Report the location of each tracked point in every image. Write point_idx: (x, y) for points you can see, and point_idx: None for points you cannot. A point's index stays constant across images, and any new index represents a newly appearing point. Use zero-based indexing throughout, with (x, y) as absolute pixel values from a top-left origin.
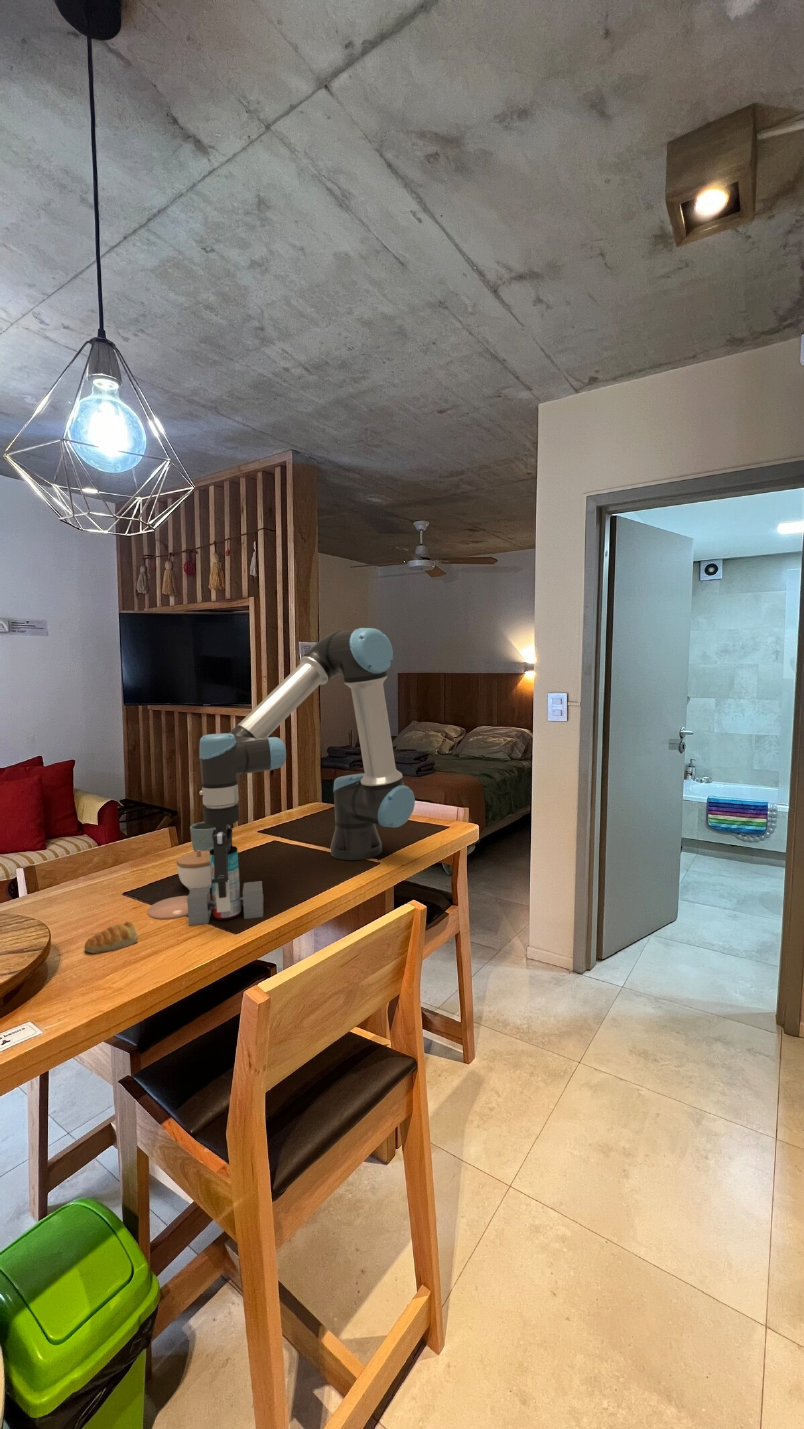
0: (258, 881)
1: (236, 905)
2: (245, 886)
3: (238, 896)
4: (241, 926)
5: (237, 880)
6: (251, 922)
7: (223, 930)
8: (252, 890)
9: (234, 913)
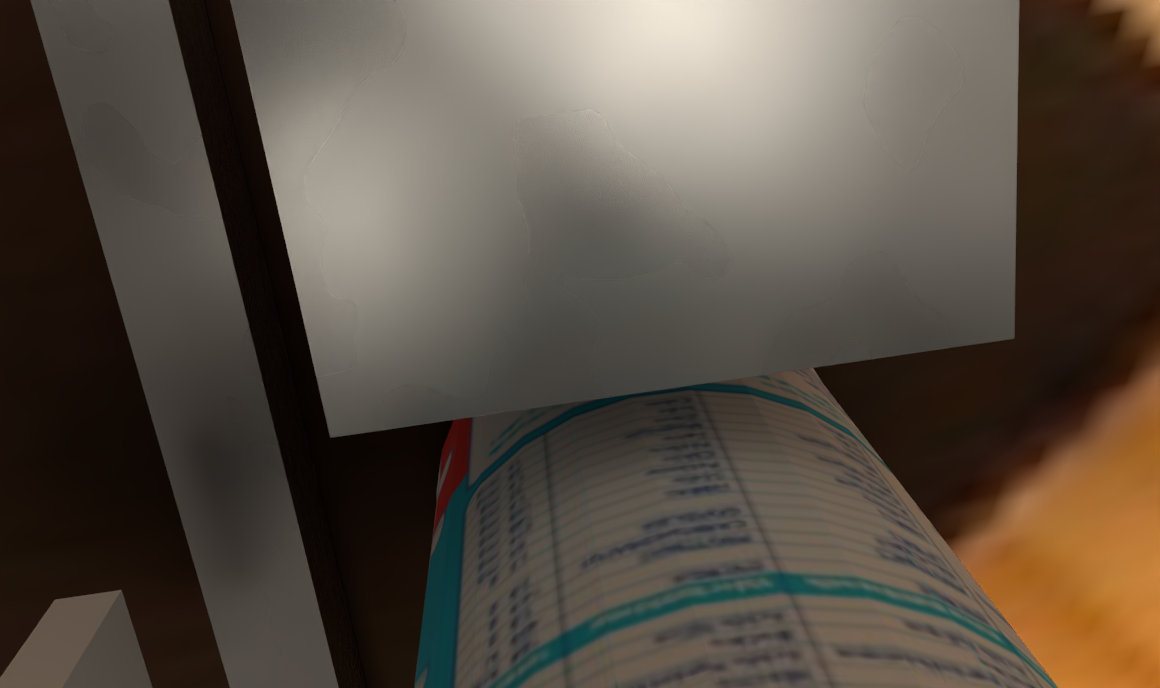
0: (253, 53)
1: (807, 384)
2: (606, 350)
3: (777, 413)
4: (1069, 188)
5: (904, 616)
6: None
7: (1119, 410)
8: (954, 110)
9: (808, 369)
